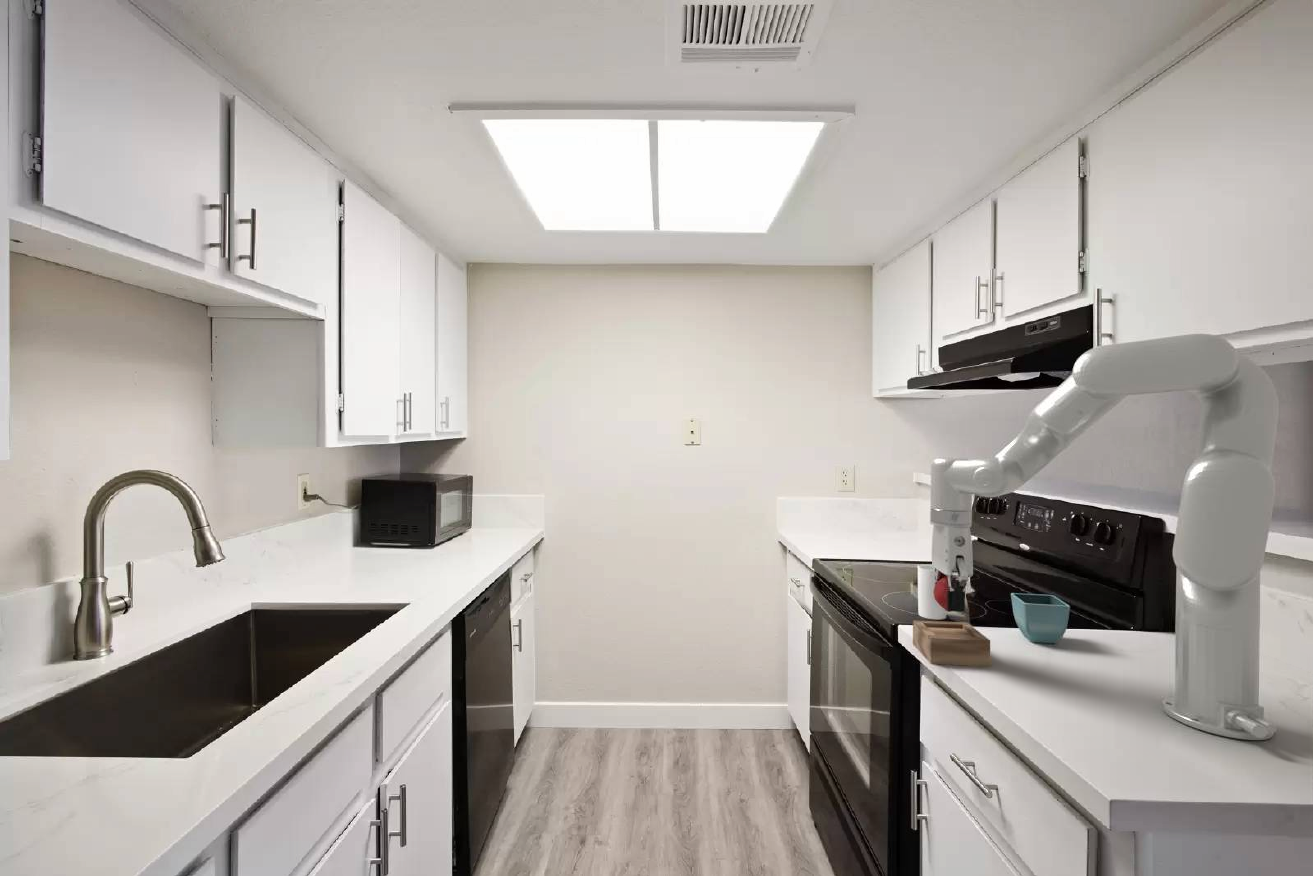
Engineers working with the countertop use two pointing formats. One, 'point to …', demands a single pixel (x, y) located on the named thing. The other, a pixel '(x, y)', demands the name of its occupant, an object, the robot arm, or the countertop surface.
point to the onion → (942, 592)
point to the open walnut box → (951, 643)
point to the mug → (928, 594)
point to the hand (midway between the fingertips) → (949, 605)
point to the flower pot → (1040, 616)
